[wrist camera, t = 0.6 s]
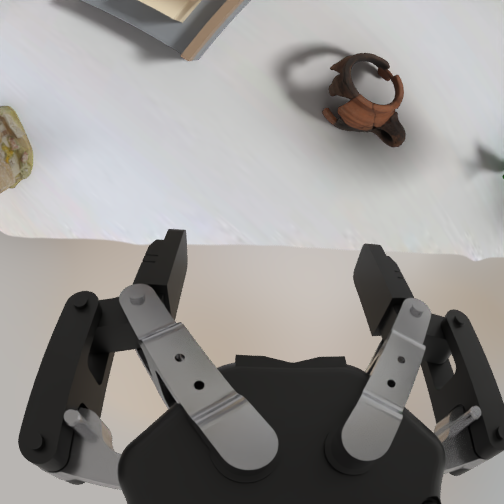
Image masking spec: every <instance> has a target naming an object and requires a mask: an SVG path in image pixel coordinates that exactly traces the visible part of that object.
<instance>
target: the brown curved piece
mask: <svg viewBox="0 0 504 504" xmlns="http://www.w3.org/2000/svg"><path fill="white" fill-rule="evenodd" d="M359 61H367V62H371V63H373V64H374V65H376V66H377V67H378V74H379V75H380V76H381V77H382V78H383V79H385V80H386V81H389V80H390V79H391V81H392V82H393V85H394V88H395V98H394V100H393V101H392V102H391V103H390V104H387V105H378V104H375V103H372V102H370V101H368V100H367V99H366V98H364V97H363V96H362V95H361V94H359V92H358V91H357V89H356V88H355V86H354V84H353V82H352V79H351V68H352V66H353V65H354V64H355V63H356V62H359ZM389 68H390V66H389V63H388V62H387V61H386V60H384V59H383V58H381V57H378V56H376V55H374V54H370V53H359V54H355V55H353V56H347V57H345V58H344V59H342V60H341V61H339V62H338V63H336V64H334V65H333V66H332V67H331V68H330V69H331V70H335V71H337V72H338V73H340V74H339V75H337V76H336V77H335V78H334V79H333V81H332V84H331V85H330V86H329V94H330V96H335V95H338V96H342V97H346V98H349V99H351V100H350V101H348V102H347V103H346V104H344V105H342V106H340V107H338V114H339V115H340V116H341V117H340V118H339V119H337V118H336V117H335V116H334V115H333V114H332V112H331V111H330V110H329V108H325V109H324V110H323V115H324V116H325V118H326V119H327V120H328V121H329V122H330V123H331V124H333V125H334V126H336V127H337V128H339V129H342V130H346V131H358V132H373V133H374V134H376V135H377V136H378V137H379V138H380V139H381V140H382V141H383V142H384V143H386V144H387V145H389V146H391V147H399V146H400V145H402V143H403V142H404V141H405V130H404V128H403V126H402V125H401V123H400V122H399V120H398V113H397V112H395V109H396V108H397V109H398V107H399V106H400V104H401V102H402V99H403V95H404V90H403V84H402V81H401V79H400V77H399V75H395V76H393V75H392V74H391V72H390V71H389V70H388V69H389Z"/></svg>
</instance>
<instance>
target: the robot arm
mask: <svg viewBox="0 0 504 504" xmlns="http://www.w3.org/2000/svg"><path fill="white" fill-rule="evenodd" d="M186 271H187V240H186V230H178V229H168V231H167V234H166V236H165V239H164V240H155V241H154V242H153V243H152V244H151V245H150V246H149V247H148V250H147V252H146V254H145V256H144V258H143V262H142V263H141V266H140V268H139V270H138V273H137V275H136V278H135V280H134V282H133V285H131V286H128V287H126V288H125V289H124V290H123V291H122V292H121V294H120V296H119V297H116V298H112V299H105V300H98V297H97V296H96V295H95V294H94V293H92V292H89V291H82V292H78V293H76V294H74V295H72V296H71V297H70V298H69V299H68V300H67V302H66V304H65V306H64V309H63V311H62V313H61V316H60V317H59V320H58V322H57V324H56V327H55V329H54V331H53V334H52V336H51V339H50V341H49V344H48V346H47V349H46V352H45V354H44V357H43V359H42V362H41V365H40V368H39V371H38V374H37V376H36V379H35V382H34V385H33V389H32V391H31V395H30V398H29V401H28V405H27V408H26V411H25V415H24V418H23V422H22V426H21V430H20V434H19V439H18V440H19V441H18V443H19V448H20V451H21V453H22V455H23V456H24V457H25V458H26V459H27V460H28V461H30V462H32V463H33V464H35V465H37V466H38V467H40V468H41V469H42V470H44V471H45V472H47V473H49V474H51V475H53V476H55V477H57V478H59V479H61V480H65V481H67V482H69V483H72V484H76V485H79V484H83V483H85V482H88V483H92V484H96V485H100V486H105V487H109V488H114V489H119V490H122V491H123V494H124V496H125V498H126V501H127V504H441V501H440V490H441V483H442V477H443V474H445V473H450V474H452V475H454V476H458V475H461V474H463V473H465V472H467V471H469V470H471V469H472V468H474V467H476V466H478V465H480V464H482V463H484V462H485V461H487V460H489V459H490V458H492V457H494V456H495V455H497V454H499V453H500V452H502V451H503V450H504V403H503V401H502V397H501V394H500V392H499V389H498V386H497V383H496V381H495V378H494V376H493V373H492V370H491V368H490V365H489V363H488V361H487V358H486V356H485V354H484V351H483V349H482V346H481V344H480V342H479V340H478V337H477V335H476V333H475V331H474V329H473V327H472V325H471V323H470V321H469V319H468V318H467V316H466V315H465V314H463V313H462V312H460V311H458V310H450V311H449V312H447V314H446V315H445V317H442V316H438V315H435V314H431V311H430V309H429V307H428V306H427V305H426V304H425V303H424V302H423V301H421V300H419V299H416V298H414V296H413V295H412V292H411V290H410V288H409V287H408V285H407V283H406V281H405V279H404V277H403V275H402V273H401V272H400V269H399V267H398V266H397V264H396V263H395V262H394V261H393V260H392V259H391V258H390V257H389V256H386V254H385V252H384V250H383V249H382V247H381V246H380V245H375V244H364V245H363V247H362V249H361V252H360V255H359V258H358V261H357V264H356V267H355V269H354V275H353V279H354V284H355V287H356V289H357V292H358V295H359V298H360V301H361V304H362V307H363V310H364V313H365V316H366V318H367V322H368V325H369V328H370V331H371V334H372V336H382V341H381V342H380V344H379V346H378V348H377V350H376V352H375V354H374V356H373V358H372V359H371V362H370V363H369V365H368V367H367V369H366V371H365V372H364V371H362V370H361V369H359V368H356V367H354V366H351V365H347V364H346V360H345V357H344V356H343V357H317V358H313V359H309V360H304V361H300V362H296V363H290V362H285V361H282V360H277V359H273V358H269V357H265V356H248V355H236V358H235V363H231V364H227V365H224V366H221V367H219V368H216V367H215V365H214V364H213V363H212V362H211V360H209V358H208V356H207V355H206V354H205V352H204V351H203V350H202V349H201V347H200V346H199V345H198V343H197V342H196V341H195V339H194V338H193V337H192V335H191V334H190V333H189V331H188V330H187V328H186V327H185V326H184V325H183V324H182V323H181V322H179V323H176V322H175V318H176V313H177V309H178V304H179V300H180V296H181V292H182V288H183V283H184V279H185V275H186ZM131 349H135V350H136V352H137V354H138V356H139V358H140V360H141V361H142V363H143V365H144V367H145V368H146V370H147V372H148V374H149V375H150V377H151V379H152V381H153V382H154V384H155V386H156V388H157V390H158V393H159V394H160V396H161V398H162V400H163V401H164V403H165V404H166V406H167V408H168V410H167V411H166V412H165V413H164V414H163V415H162V416H161V417H159V419H157V420H156V421H155V422H154V423H153V424H152V425H150V426H149V427H148V428H147V429H146V430H145V431H144V432H142V433H141V434H140V435H139V436H138V437H137V438H136V439H134V440H133V441H132V442H131V443H130V444H129V445H128V446H127V447H126V448H125V450H124V451H123V453H122V454H119V453H116V452H115V451H114V449H113V446H112V435H111V432H110V430H109V429H108V427H107V426H106V425H105V424H104V423H103V421H101V419H100V417H101V411H102V406H103V401H104V397H105V392H106V387H107V383H108V378H109V374H110V370H111V366H112V361H113V357H114V353H115V352H117V351H124V350H131ZM451 354H452V356H453V358H454V361H455V364H456V372H455V374H454V373H453V370H452V368H451V365H450V362H449V359H448V358H449V356H450V355H451ZM420 364H421V367H422V370H423V374H424V377H425V381H426V384H427V388H428V391H429V395H430V399H431V403H432V407H433V411H434V415H435V419H436V424H437V425H436V426H435V430H434V433H433V432H432V431H431V430H430V429H428V428H427V427H426V426H425V425H424V424H423V423H422V422H421V421H420V420H418V419H417V418H416V417H415V416H414V415H413V414H412V413H411V412H409V410H407V409H406V408H405V404H406V402H407V399H408V397H409V394H410V392H411V389H412V387H413V384H414V381H415V378H416V375H417V373H418V370H419V367H420Z"/></svg>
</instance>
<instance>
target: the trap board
mask: <svg viewBox="0 0 504 504" xmlns="http://www.w3.org/2000/svg"><path fill="white" fill-rule="evenodd" d="M81 1H83V2H86V3H88V4H90V5H92V6H94V7H96V8H99V9H101V10H103V11H105V12H107V13H109V14H111V15H113V16H115V17H117V18H119V19H121V20H123V21H125V22H127V23H129V24H130V25H132V26H134V27H136V28H138V29H140V30H141V31H143V32H145V33H147V34H149V35H150V36H152V37H154V38H156V39H157V40H159V41H161V42H163V43H164V44H166V45H168V46H169V47H171V48H173V49H174V50H176V51H177V52H179V53H181V54H182V55H181V57H182V58H184V59H185V60H187V61H193V60H199V59H200V57H201V56H202V55H203V54H204V52H205V51H206V50H207V49H208V47H209V46H210V45H211V44H212V43H213V41H214V40H215V39H216V38H217V37H218V36H219V34H220V33H221V32H222V31H223V30H224V29H225V27H226V26H227V25H228V24H229V23H230V22H231V21H232V20H233V19H234V17H235V16H236V15H237V14H238V13H239V12H240V11H241V10H242V9H243V8H244V7H245V6H246V5H247V4H248V3H249V2H250V0H202V1H201V2H200V3H199V4H198V5H197V6H196V8H195V9H194V10H193V11H192V12H191V14H190V15H189V16H188V17H187V18H186V20H185V21H184V22H183V23H182V22H180V21H177V20H174V19H172V18H170V17H169V16H167V15H165V14H163V13H161V12H160V11H158V10H156V9H154V8H152V7H150V6H148V5H146V4H144V3H142V2H140V1H138V0H81Z"/></svg>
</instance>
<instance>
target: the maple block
mask: <svg viewBox="0 0 504 504" xmlns="http://www.w3.org/2000/svg"><path fill="white" fill-rule="evenodd" d="M138 1H140V2H142V3H144V4H146V5H148V6H150V7H152V8H154V9H156V10H158V11H160V12H161V13H163V14H165V15H167V16H169V17H170V18H172V19H174V20H177V21H180V22H182V23H183V22H184V21H185V20H186V18H187V17H188V16H189V15H190V14H191V12H192V11H193V10H194V9H195V8H196V6H197V5H198V4H199V3H200V2H201V1H202V0H138Z"/></svg>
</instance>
